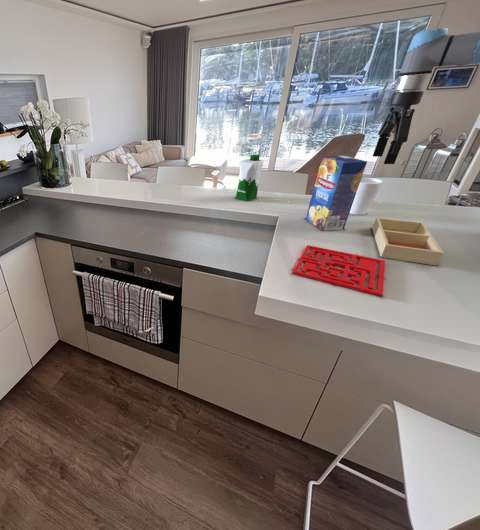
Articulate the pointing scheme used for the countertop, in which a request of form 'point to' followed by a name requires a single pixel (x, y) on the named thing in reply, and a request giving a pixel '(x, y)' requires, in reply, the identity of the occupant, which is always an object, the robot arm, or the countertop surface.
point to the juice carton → (335, 191)
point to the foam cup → (365, 195)
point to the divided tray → (406, 241)
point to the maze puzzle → (364, 266)
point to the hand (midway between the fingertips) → (382, 160)
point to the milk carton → (249, 178)
